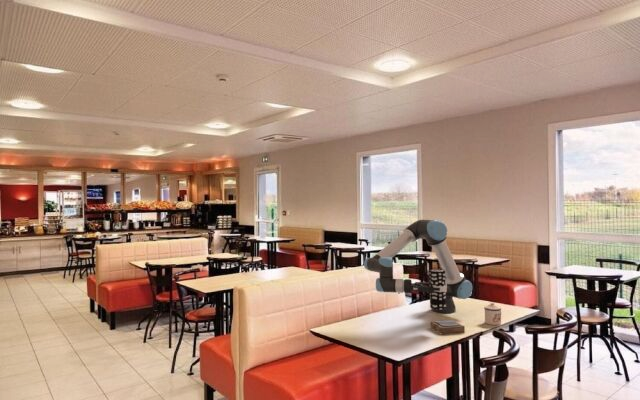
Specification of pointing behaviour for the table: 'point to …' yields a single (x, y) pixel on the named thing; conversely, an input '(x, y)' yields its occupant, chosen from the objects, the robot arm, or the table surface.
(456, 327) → the plinth
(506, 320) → the table surface
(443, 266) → the robot arm
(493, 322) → the teacup with lid
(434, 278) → the white-spotted black cylinder
